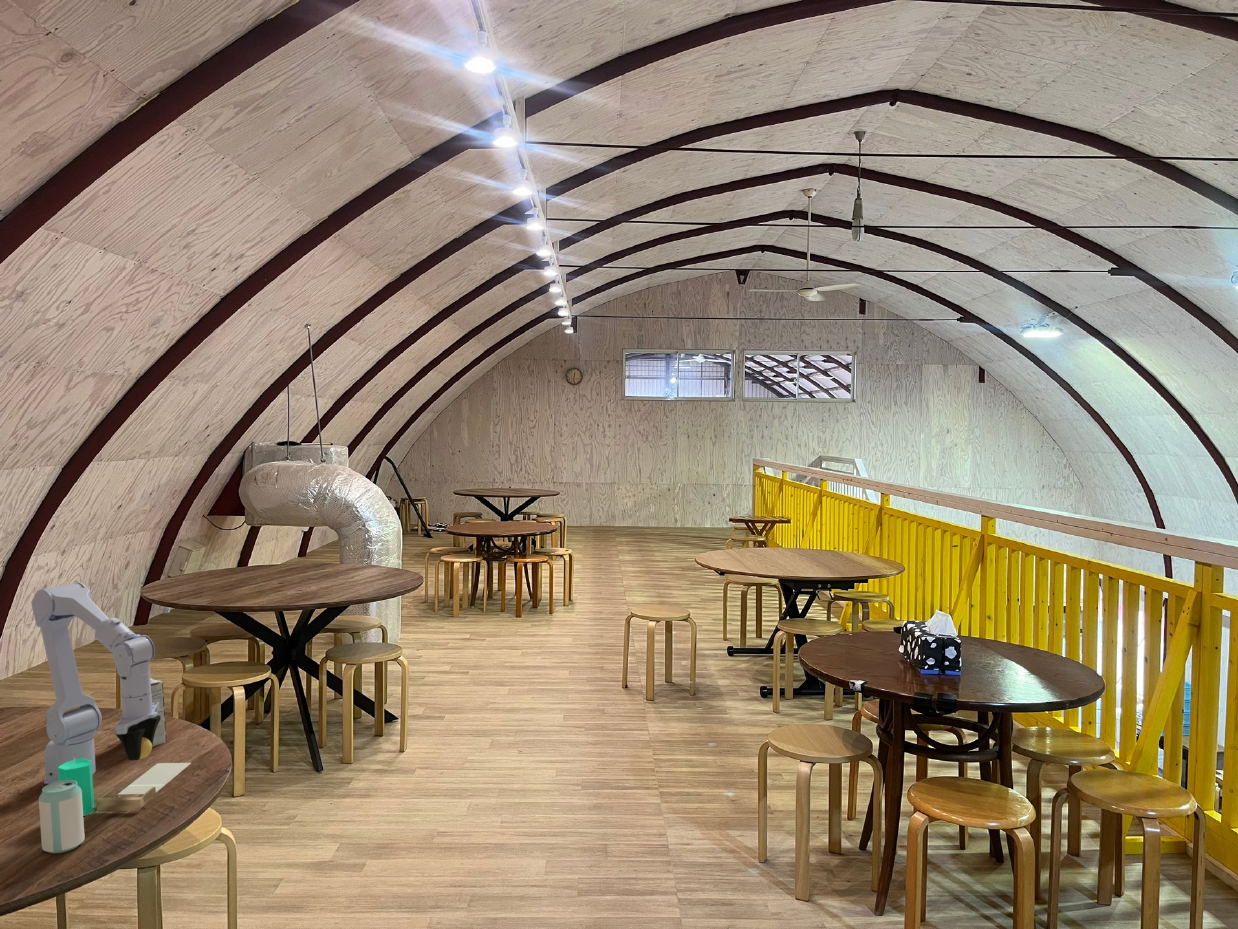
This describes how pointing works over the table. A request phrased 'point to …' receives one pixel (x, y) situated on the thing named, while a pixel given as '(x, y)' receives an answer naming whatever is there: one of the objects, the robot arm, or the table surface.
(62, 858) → the table surface
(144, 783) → the lane
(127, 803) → the rail
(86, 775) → the candle
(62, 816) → the can
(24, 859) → the table surface
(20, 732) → the table surface
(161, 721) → the candy bar box
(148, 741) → the ball
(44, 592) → the robot arm
